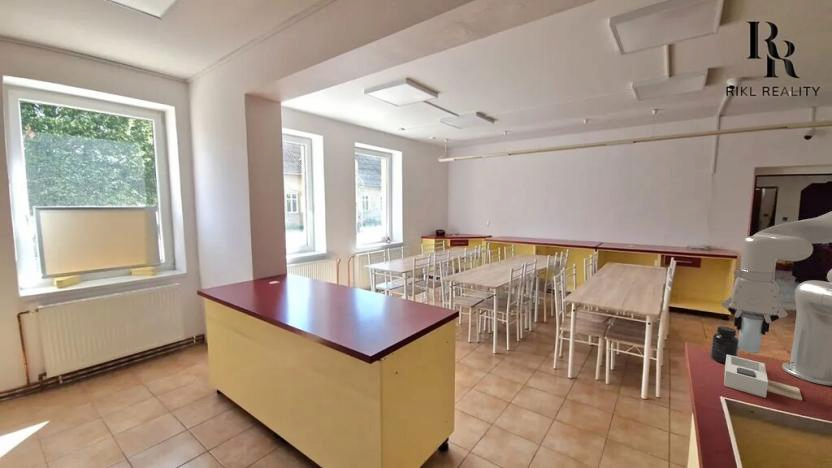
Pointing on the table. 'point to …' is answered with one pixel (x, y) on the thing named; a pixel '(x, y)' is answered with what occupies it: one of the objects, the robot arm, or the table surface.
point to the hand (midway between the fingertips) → (750, 330)
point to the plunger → (745, 372)
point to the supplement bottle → (724, 344)
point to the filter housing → (743, 382)
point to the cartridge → (750, 332)
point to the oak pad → (784, 390)
